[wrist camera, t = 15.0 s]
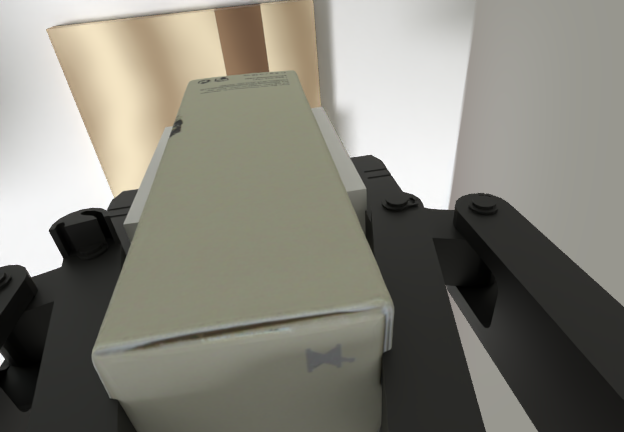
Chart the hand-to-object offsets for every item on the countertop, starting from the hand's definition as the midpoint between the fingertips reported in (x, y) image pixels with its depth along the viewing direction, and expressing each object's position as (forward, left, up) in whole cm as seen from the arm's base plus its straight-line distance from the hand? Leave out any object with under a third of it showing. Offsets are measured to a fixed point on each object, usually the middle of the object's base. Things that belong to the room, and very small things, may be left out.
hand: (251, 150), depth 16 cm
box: (0, 0, -2) cm, 2 cm away
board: (-4, -3, -16) cm, 17 cm away
